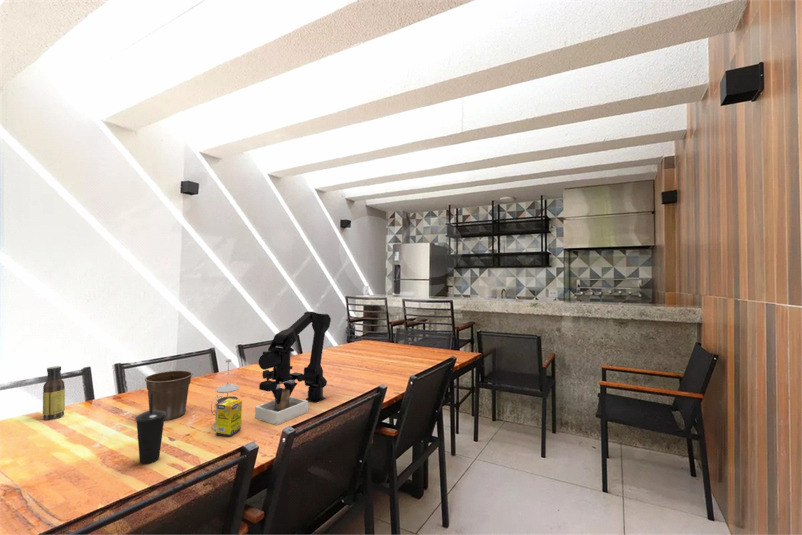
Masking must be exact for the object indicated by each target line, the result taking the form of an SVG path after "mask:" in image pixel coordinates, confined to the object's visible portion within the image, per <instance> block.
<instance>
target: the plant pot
mask: <svg viewBox="0 0 802 535" xmlns="http://www.w3.org/2000/svg"><path fill="white" fill-rule="evenodd" d="M192 376H193V372H191V371H189V370H188V371H187V370H168V371H162V372H158V373H153V374H150V375H148V376H145V378H144V381H145V383H146V390H147V397H148V399H147V400H148V409H149V410H150V394H153V410H161V411H165V412H166V415H165V418H164V422H166V421H171V420H175V419H178V418H180V417H181V416H184V415H185V414H186V409H187V403H188V396H189V395H188V394H189V389H190V384H191V380H192ZM149 410H148V411H149Z"/></svg>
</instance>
